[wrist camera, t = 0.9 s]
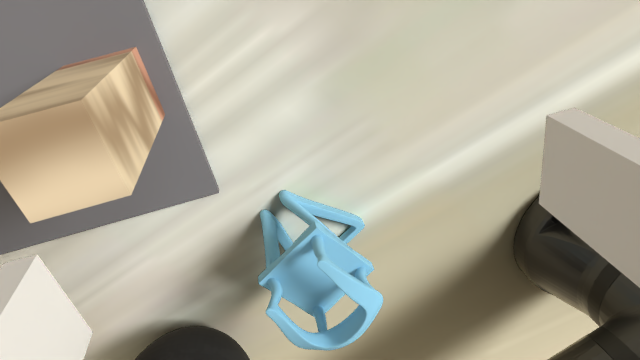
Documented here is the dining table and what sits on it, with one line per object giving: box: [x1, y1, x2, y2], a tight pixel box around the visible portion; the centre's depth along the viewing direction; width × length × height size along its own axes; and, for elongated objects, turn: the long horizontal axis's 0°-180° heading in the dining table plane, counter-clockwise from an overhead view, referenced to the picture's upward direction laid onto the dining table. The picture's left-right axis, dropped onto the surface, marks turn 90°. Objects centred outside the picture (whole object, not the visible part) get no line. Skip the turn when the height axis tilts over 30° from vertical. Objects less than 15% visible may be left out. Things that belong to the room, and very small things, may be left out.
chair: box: [258, 190, 383, 350], centre depth 34 cm, size 8×8×12 cm
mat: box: [0, 0, 219, 255], centre depth 30 cm, size 20×19×1 cm
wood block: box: [0, 47, 165, 223], centre depth 25 cm, size 5×5×12 cm
